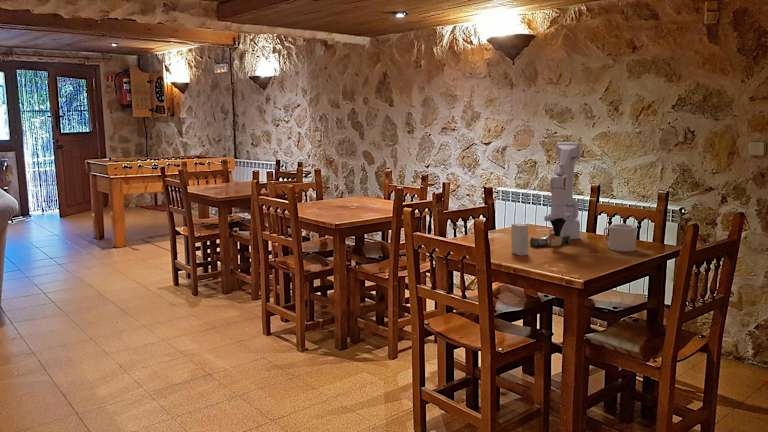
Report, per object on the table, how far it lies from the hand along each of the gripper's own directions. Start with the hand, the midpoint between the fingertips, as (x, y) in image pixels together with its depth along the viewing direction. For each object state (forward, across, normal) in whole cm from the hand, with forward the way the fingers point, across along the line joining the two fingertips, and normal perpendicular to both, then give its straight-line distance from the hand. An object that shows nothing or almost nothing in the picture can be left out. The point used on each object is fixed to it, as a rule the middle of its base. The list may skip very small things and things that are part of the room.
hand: (557, 236), depth 258 cm
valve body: (+5, -4, -6) cm, 9 cm away
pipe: (+5, -3, -6) cm, 9 cm away
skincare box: (+5, +20, -2) cm, 21 cm away
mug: (+6, -21, +15) cm, 26 cm away
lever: (0, 0, -3) cm, 3 cm away
